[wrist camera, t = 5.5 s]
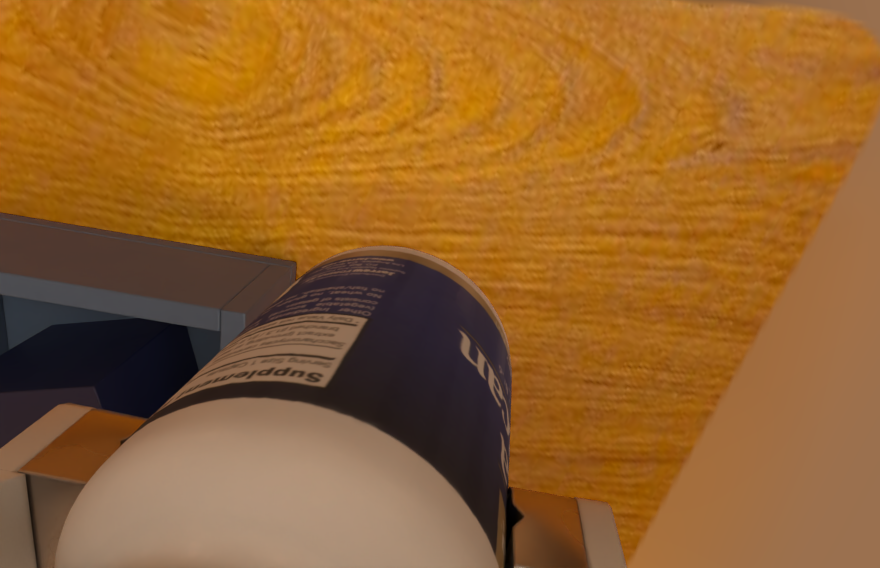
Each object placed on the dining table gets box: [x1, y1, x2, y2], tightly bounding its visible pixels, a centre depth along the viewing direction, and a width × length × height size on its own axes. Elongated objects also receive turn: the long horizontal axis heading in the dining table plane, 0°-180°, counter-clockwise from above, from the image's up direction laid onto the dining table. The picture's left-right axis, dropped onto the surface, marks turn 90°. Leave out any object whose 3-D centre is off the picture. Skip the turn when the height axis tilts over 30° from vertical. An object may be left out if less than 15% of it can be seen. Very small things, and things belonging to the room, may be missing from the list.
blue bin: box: [0, 213, 296, 371], centre depth 20 cm, size 11×11×5 cm
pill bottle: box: [54, 246, 512, 568], centre depth 9 cm, size 5×5×10 cm
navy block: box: [0, 318, 199, 448], centre depth 19 cm, size 5×5×5 cm
